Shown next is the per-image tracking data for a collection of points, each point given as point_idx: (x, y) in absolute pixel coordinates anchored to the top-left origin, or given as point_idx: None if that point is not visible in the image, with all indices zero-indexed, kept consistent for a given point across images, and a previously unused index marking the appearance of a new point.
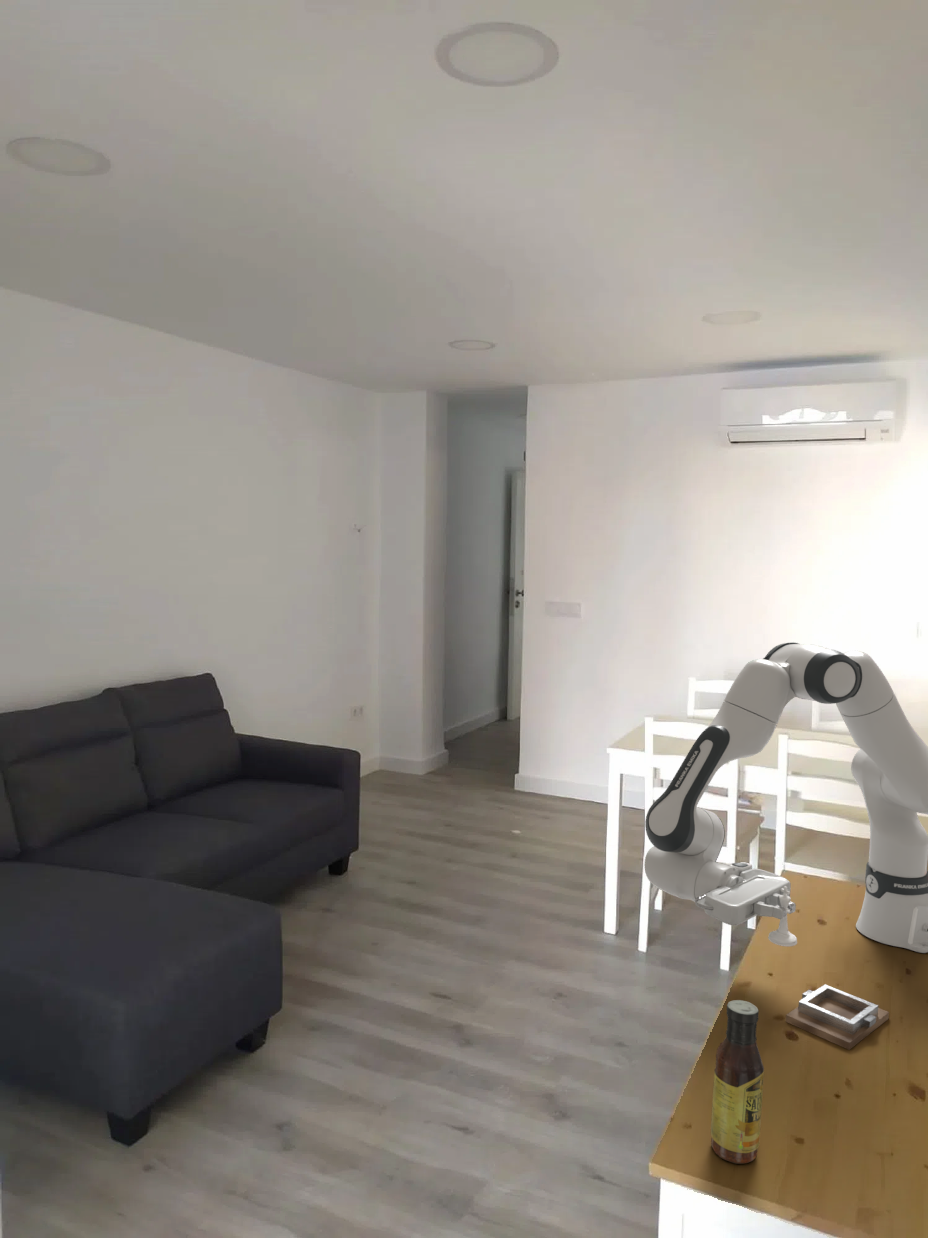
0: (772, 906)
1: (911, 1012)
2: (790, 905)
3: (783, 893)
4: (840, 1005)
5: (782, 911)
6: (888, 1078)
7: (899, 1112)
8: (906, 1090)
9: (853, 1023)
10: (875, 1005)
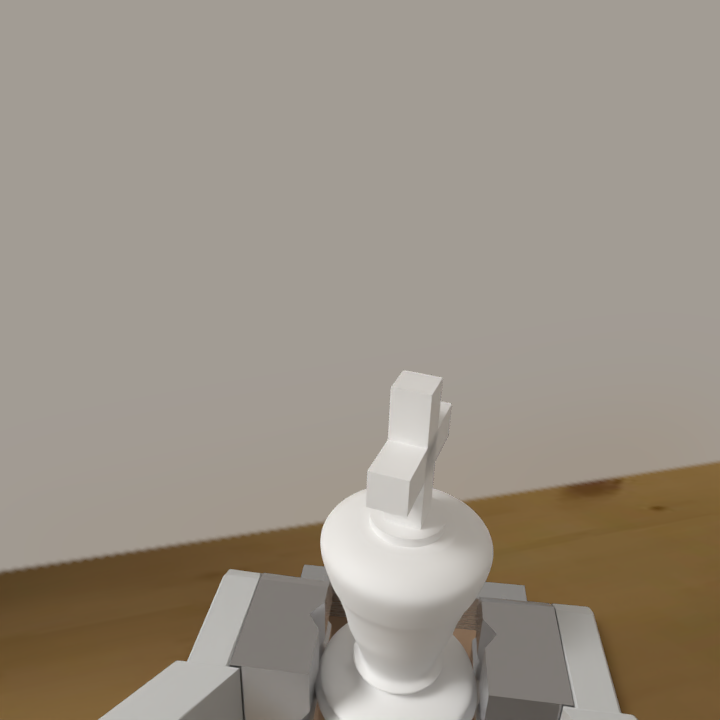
0: (615, 718)
1: (151, 562)
2: (325, 588)
3: (424, 496)
4: (321, 714)
5: (570, 606)
6: (604, 528)
7: (712, 489)
8: (610, 496)
9: (518, 585)
10: (310, 570)
